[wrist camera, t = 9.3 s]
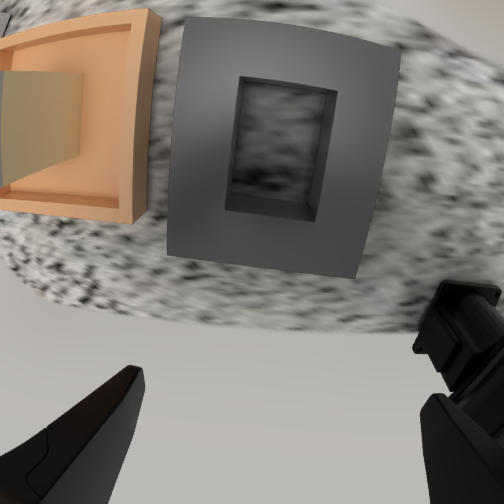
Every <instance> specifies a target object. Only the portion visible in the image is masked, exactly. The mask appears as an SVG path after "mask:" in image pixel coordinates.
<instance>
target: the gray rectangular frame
mask: <svg viewBox="0 0 504 504" xmlns="http://www.w3.org/2000/svg"><path fill="white" fill-rule="evenodd" d="M401 52H402V51H400V50H396V49H393V48H390V47H387V46H384V45H380V44H377V43H373V42H370V41H366V40H362V39H358V38H355V37H350V36H346V35H342V34H338V33H333V32H328V31H324V30H318V29H313V28H308V27H302V26H296V25H289V24H282V23H275V22H266V21H257V20H246V19H232V18H211V17H186V19H185V26H184V32H183V39H182V46H181V53H180V61H179V69H178V77H177V86H176V95H175V105H174V115H173V127H172V139H171V154H170V170H169V189H168V217H167V255H169V256H176V257H184V258H191V259H199V260H206V261H214V262H221V263H229V264H237V265H244V266H252V267H260V268H268V269H276V270H284V271H292V272H300V273H308V274H316V275H325V276H333V277H341V278H350V279H355V277H356V274H357V270H358V267H359V263H360V260H361V256H362V253H363V249H364V245H365V242H366V238H367V234H368V230H369V226H370V223H371V219H372V215H373V210H374V206H375V202H376V198H377V194H378V189H379V185H380V180H381V176H382V171H383V166H384V161H385V156H386V151H387V146H388V141H389V135H390V130H391V124H392V118H393V112H394V106H395V99H396V92H397V85H398V78H399V70H400V61H401ZM244 81H246V82H256V83H264V84H272V85H279V86H286V87H292V88H299V89H305V90H310V91H316V92H321V93H326V98H325V105H324V112H323V118H322V125H321V131H320V137H319V143H318V150H317V156H316V161H315V167H314V173H313V179H312V185H311V190H310V196H309V201H308V204H302V203H295V202H288V201H281V200H273V199H266V198H258V197H251V196H243V195H235V194H231V187H232V178H233V169H234V160H235V152H236V143H237V134H238V126H239V118H240V110H241V102H242V94H243V86H244Z"/></svg>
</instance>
